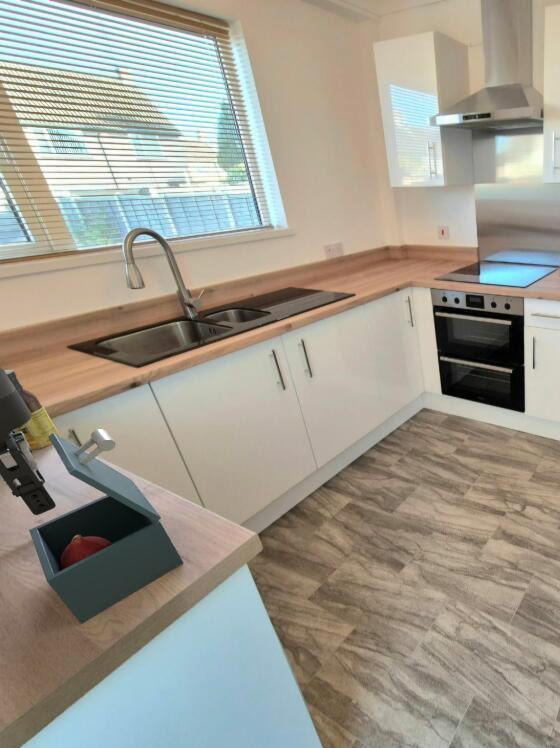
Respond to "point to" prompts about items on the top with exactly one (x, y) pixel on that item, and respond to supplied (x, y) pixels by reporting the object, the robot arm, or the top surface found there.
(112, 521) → the chest
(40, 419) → the sauce bottle
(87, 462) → the lid
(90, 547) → the onion
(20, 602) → the top surface
